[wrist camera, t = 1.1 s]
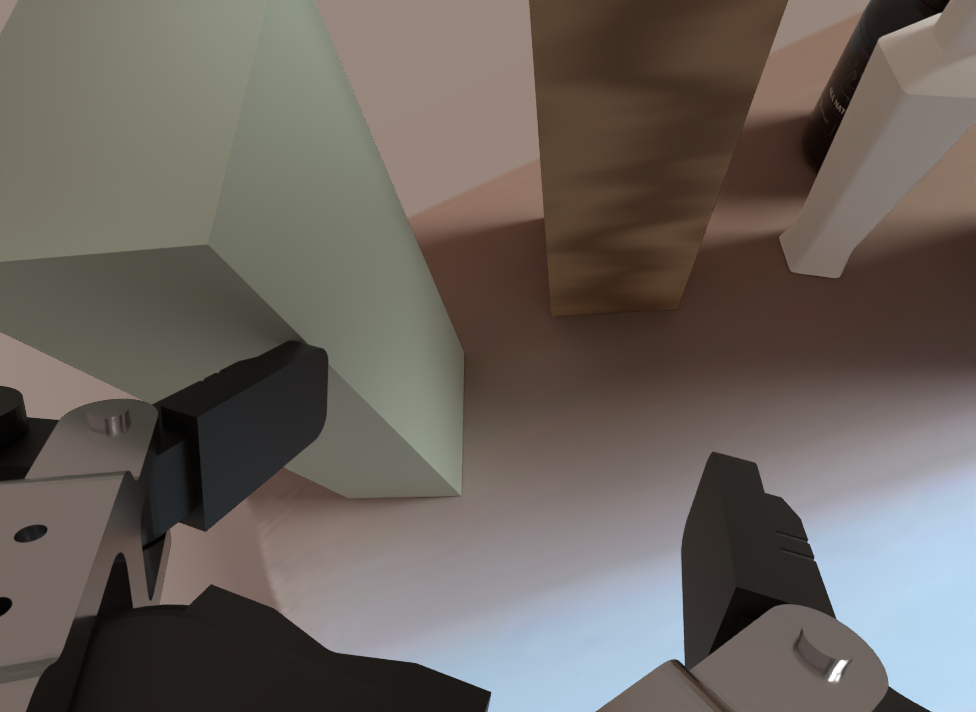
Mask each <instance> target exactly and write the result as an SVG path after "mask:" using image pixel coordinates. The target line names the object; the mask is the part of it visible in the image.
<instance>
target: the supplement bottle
mask: <svg viewBox="0 0 976 712" xmlns="http://www.w3.org/2000/svg"><path fill="white" fill-rule="evenodd" d="M949 1H950V0H871V1H870V2H869V4H868V5H867V7H866V9H865V10H864V12H863V14H862V16H861V18H860V20H859V22H858V24H857V26H856V28H855V30H854V32H853V34H852V36H851V38H850V40H849V42H848V44H847V46H846V48H845V49H844V51H843V53H842V55H841V57H840V59H839V61H838V63H837V65H836V67H835V69H834V71H833V73H832V75H831V77H830V79H829V81H828V83H827V85H826V87H825V89H824V91H823V93H822V95H821V97H820V98H819V100H818V102H817V104H816V106H815V108H814V110H813V112H812V114H811V116H810V118H809V120H808V123H807V125H806V127H805V130H804V134H803V148H804V152H805V155H806V157H807V159H808V161H809V162H810V164H811V165H812V166H813V168H814V169H815V170H816V171H817V172H818V173H819V171H820V168H821V166H822V164H823V162H824V160H825V157H826V155H827V153H828V151H829V148H830V146H831V144H832V142H833V140H834V137H835V135H836V133H837V131H838V128H839V126H840V124H841V122H842V120H843V117H844V115H845V113H846V111H847V108H848V106H849V104H850V102H851V99H852V97H853V95H854V93H855V91H856V88H857V86H858V84H859V82H860V79H861V77H862V75H863V73H864V71H865V68H866V66H867V64H868V62H869V59H870V57H871V55H872V53H873V51H874V48H875V46H876V44H877V42H878V40H879V38H881V37H882V36H885V35H887V34H890V33H892V32H895V31H897V30H899V29H902V28H904V27H907V26H909V25H912V24H914V23H917V22H919V21H921V20H924V19H926V18H929V17H931V16H934V15H936V14H939V13H942V12H943V11H944V9H945V8H946V6H947V4H948V3H949Z"/></svg>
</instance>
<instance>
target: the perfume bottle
mask: <svg viewBox="0 0 976 712" xmlns="http://www.w3.org/2000/svg"><path fill="white" fill-rule="evenodd" d="M975 122H976V0H950V1H949V3H948V4H947V6H946V8H945V9H944V11H943V12H942V13H939V14H936V15H934V16H931V17H929V18H926V19H924V20H921V21H919V22H917V23H914V24H912V25H909V26H907V27H904V28H902V29H899V30H897V31H895V32H892V33H890V34H887V35H885V36H882V37H881V38H879V40H878V42H877V44H876V46H875V48H874V51H873V53H872V55H871V57H870V59H869V62H868V64H867V66H866V68H865V71H864V73H863V75H862V77H861V79H860V82H859V84H858V86H857V88H856V91H855V93H854V95H853V97H852V99H851V102H850V104H849V106H848V108H847V111H846V113H845V115H844V117H843V120H842V122H841V124H840V126H839V128H838V131H837V133H836V135H835V137H834V140H833V142H832V144H831V146H830V148H829V151H828V153H827V155H826V157H825V160H824V162H823V164H822V166H821V168H820V171H819V173H818V175H817V177H816V180H815V182H814V184H813V186H812V189H811V191H810V193H809V195H808V197H807V200H806V202H805V204H804V206H803V209H802V211H801V213H800V215H799V217H798V220H797V222H796V223H794V224H793V225H792V226H791V227H790V228H788V229H787V230H786V231H785V232H784V233H782V234H781V235H780V237H779V240H780V243H781V246H782V249H783V252H784V255H785V258H786V261H787V264H788V267H789V269H790V271H791V272H793V273H799V274H806V275H814V276H822V277H829V278H839V277H840V276H841V274H842V272H843V270H844V268H845V266H846V263H847V261H848V259H849V257H850V255H851V253H852V251H853V249H854V248H855V247H856V246H857V245H858V244H859V243H860V242H861V241H862V240H863V239H864V238H865V237H866V236H867V235H868V234H869V233H870V232H871V231H872V229H873V228H874V227H875V226H876V225H877V224H878V223H879V222H880V221H881V220H882V219H883V218H884V217H885V216H886V215H887V214H888V213H889V212H890V211H891V210H892V209H893V208H894V207H895V206H896V204H897V203H898V202H899V201H900V200H901V199H902V198H903V197H904V196H905V195H906V194H907V193H908V192H909V191H910V190H911V189H912V188H913V187H914V186H915V185H916V184H917V183H918V182H919V181H920V179H921V178H922V177H923V176H924V175H925V174H926V173H927V172H928V171H929V170H930V169H931V168H932V167H933V166H934V165H935V164H936V163H937V162H938V161H939V160H940V159H941V158H942V157H943V156H944V154H945V153H946V152H947V151H948V150H949V149H950V148H951V147H952V146H953V145H954V144H955V143H956V142H957V141H958V140H959V139H960V138H961V137H962V136H963V135H964V134H965V133H966V132H967V131H968V129H969V128H970V127H971V126H972V125H973V124H974V123H975Z"/></svg>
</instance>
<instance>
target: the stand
mask: <svg viewBox="0 0 976 712" xmlns="http://www.w3.org/2000/svg"><path fill="white" fill-rule="evenodd" d="M787 2H788V0H529V4H530V19H531V34H532V47H533V60H534V61H533V62H534V77H535V91H536V105H537V120H538V134H539V148H540V163H541V177H542V191H543V206H544V220H545V234H546V249H547V263H548V277H549V291H550V306H551V317H552V316H569V315H585V314H601V313H617V312H633V311H649V310H666V309H678V306H679V304H680V301H681V298H682V295H683V292H684V290H685V287H686V284H687V281H688V278H689V276H690V273H691V270H692V267H693V265H694V262H695V259H696V256H697V253H698V251H699V248H700V245H701V242H702V239H703V237H704V234H705V231H706V228H707V225H708V223H709V220H710V217H711V214H712V212H713V209H714V206H715V203H716V200H717V198H718V195H719V192H720V189H721V186H722V184H723V181H724V178H725V175H726V172H727V170H728V167H729V164H730V161H731V159H732V156H733V153H734V150H735V147H736V145H737V142H738V139H739V136H740V133H741V131H742V128H743V125H744V122H745V119H746V117H747V114H748V111H749V108H750V106H751V103H752V100H753V97H754V94H755V92H756V89H757V86H758V83H759V80H760V78H761V75H762V72H763V69H764V66H765V64H766V61H767V58H768V55H769V53H770V50H771V47H772V44H773V41H774V39H775V35H776V33H777V30H778V27H779V25H780V22H781V19H782V16H783V13H784V10H785V8H786V5H787Z"/></svg>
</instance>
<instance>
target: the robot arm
mask: <svg viewBox="0 0 976 712" xmlns="http://www.w3.org/2000/svg"><path fill="white" fill-rule="evenodd" d="M327 395H328V355H327V352H326V351H325V349H323V348H320V347H316V346H312V345H308V344H305V343H301V342H297V341H293V340H290V341H287V342H285V343H283V344H281V345H279V346H277V347H275V348H273V349H271V350H269V351H267V352H265V353H263V354H261V355H259V356H258V357H253V358H249V359H245V360H241V361H238V362H236V363H234V364H232V365H230V366H228V367H226V368H224V369H222V370H220V371H219V373H214V374H212V375H210V376H208V377H206V378H204V380H203V381H198V382H196V383H194V384H192V385H190V386H188V387H186V388H184V389H182V390H180V391H178V392H176V393H174V394H172V395H170V396H168V397H166V398H164V399H162V400H160V401H158V402H156V403H154V404H152V405H151V404H149V403H147V402H144V401H140V400H134V399H111V400H103V401H99V402H93V403H90V404H86V405H83V406H81V407H78V408H76V409H74V410H72V411H70V412H68V413H67V414H65V415H64V416H63V417H62V418H61V419H60V420H52V419H40V418H29V417H27V416H26V411H25V405H24V401H23V396H22V394H21V393H20V392H19V391H17V390H16V389H13V388H10V387H5V386H0V712H488V707H489V702H490V697H491V692H490V691H487V690H484V689H482V688H479V687H477V686H474V685H471V684H469V683H466V682H464V681H461V680H458V679H456V678H453V677H451V676H448V675H445V674H443V673H440V672H438V671H435V670H432V669H430V668H427V667H425V666H422V665H419V664H417V663H411V662H403V661H395V660H387V659H379V658H372V657H364V656H356V655H348V654H340V653H335V652H333V651H330V650H328V649H327V648H325V647H324V646H322V645H321V644H320V643H318V642H317V641H316V640H314V639H313V638H312V637H310V636H309V635H308V634H307V633H305V632H304V631H303V630H301V629H300V628H299V627H297V626H296V625H295V624H293V623H292V622H291V621H290V620H288V619H287V618H286V617H284V616H283V615H282V614H280V613H279V612H278V611H276V610H275V609H273V608H271V607H269V606H266V605H263V604H260V603H258V602H256V601H253V600H250V599H248V598H245V597H243V596H240V595H237V594H235V593H232V592H229V591H227V590H224V589H222V588H219V587H216V586H214V585H210V586H209V587H208V588H207V589H206V590H205V591H204V592H203V593H202V594H200V595H199V596H198V597H197V598H196V599H195V600H194V601H193V602H192V603H191V604H190V605H159V604H160V598H161V593H162V588H163V583H164V578H165V572H166V567H167V562H168V557H169V552H170V547H171V533H170V528H171V527H173V526H174V525H175V524H177V523H178V522H180V523H183V524H185V525H188V526H191V527H194V528H196V529H199V530H202V531H205V532H206V531H207V530H208V529H209V528H211V527H212V526H213V525H214V524H215V523H216V522H218V521H219V520H220V519H221V518H223V517H224V516H225V515H226V514H227V513H229V512H230V511H231V510H232V509H233V508H235V507H236V506H237V505H238V504H239V503H241V502H242V501H243V500H244V499H245V498H247V497H248V496H249V495H250V494H251V493H253V492H254V491H255V490H256V489H257V488H259V487H260V486H261V485H262V484H263V483H265V482H266V481H267V480H268V479H269V478H271V477H272V476H273V475H274V474H275V473H277V472H278V471H279V470H280V469H281V468H283V467H284V466H285V465H286V464H287V463H289V462H290V461H291V460H292V459H293V458H295V457H296V456H297V455H298V454H299V453H301V452H302V451H303V450H304V449H305V448H307V447H308V446H309V445H310V444H311V443H313V442H314V441H315V440H316V439H317V438H318V436H319V435H320V433H321V431H322V429H323V427H324V424H325V421H326V416H327ZM807 541H808V538H807V535H806V533H805V530H804V527H803V524H802V521H801V519H800V518H799V516H798V515H797V514H796V513H795V512H794V511H793V510H792V509H791V507H790V506H789V505H788V504H787V503H786V502H785V501H784V500H783V499H782V498H781V497H778V496H774V495H770V494H767V493H765V492H764V489H763V485H762V481H761V478H760V474H759V471H758V467H757V464H756V463H754V462H751V461H747V460H743V459H739V458H735V457H732V456H728V455H724V454H720V453H716V452H712V453H711V455H710V456H709V458H708V460H707V463H706V466H705V469H704V472H703V474H702V477H701V480H700V483H699V486H698V489H697V492H696V495H695V498H694V501H693V504H692V506H691V509H690V512H689V515H688V518H687V521H686V525H685V529H684V534H683V539H682V547H681V561H682V591H683V621H684V651H685V666H684V665H683V664H682V663H681V662H680V661H678V660H675V659H673V660H669V661H667V662H665V663H663V664H662V665H660V666H659V667H657V668H656V669H654V670H653V671H652V672H650V673H649V674H648V675H646V676H645V677H643V678H642V679H641V680H639V681H638V682H636V683H635V684H634V685H632V686H631V687H629V688H628V689H627V690H625V691H624V692H622V693H621V694H620V695H618V696H617V697H615V698H614V699H613V700H611V701H610V702H608V703H607V704H606V705H604V706H603V707H601V708H600V709H599V710H597V711H596V712H931V711H929V710H927V709H925V708H924V707H922V706H920V705H918V704H916V703H914V702H913V701H911V700H909V699H908V698H906V697H904V696H903V695H901V694H899V693H898V692H896V691H895V690H893V689H892V688H891V687H889V686H888V677H887V674H886V671H885V668H884V666H883V664H882V663H881V661H880V659H879V658H878V656H877V655H876V654H875V652H874V651H873V650H872V649H871V647H870V646H869V645H868V644H867V643H866V642H865V641H864V640H863V639H862V638H861V637H860V636H858V635H857V634H856V633H855V632H854V631H852V630H851V629H850V628H848V627H847V626H846V625H844V624H842V623H841V622H839V621H838V620H837V619H836V617H835V614H834V611H833V608H832V605H831V603H830V600H829V597H828V594H827V591H826V589H825V586H824V583H823V580H822V577H821V575H820V572H819V569H818V566H817V563H816V562H815V561H814V555H813V552H812V549H811V547H810V544H808V543H807Z"/></svg>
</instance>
